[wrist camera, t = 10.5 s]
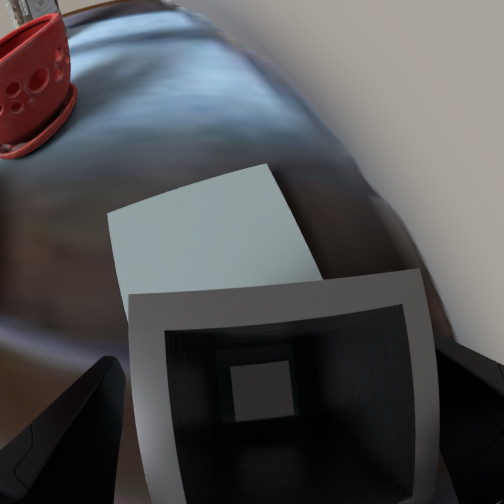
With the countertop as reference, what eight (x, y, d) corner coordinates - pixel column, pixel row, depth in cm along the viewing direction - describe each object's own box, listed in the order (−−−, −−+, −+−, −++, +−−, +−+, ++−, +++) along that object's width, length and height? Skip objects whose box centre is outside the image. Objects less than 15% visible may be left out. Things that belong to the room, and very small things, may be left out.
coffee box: (70, 36, 32) (52, -26, 17) (46, 54, 30) (23, -10, 15) (47, 40, 33) (29, -14, 18) (25, 57, 30) (3, 2, 15)
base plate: (360, 395, 14) (398, 403, 10) (188, 461, 13) (172, 492, 8) (264, 176, 20) (270, 132, 15) (115, 224, 18) (88, 188, 14)
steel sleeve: (311, 422, 13) (433, 504, 3) (212, 434, 12) (169, 557, 2) (301, 330, 14) (419, 268, 5) (202, 339, 14) (128, 294, 4)
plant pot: (6, 194, 18) (-62, 116, 7) (-4, 137, 21) (-45, 76, 10) (107, 111, 22) (72, 10, 11) (73, 76, 25) (48, 6, 14)
